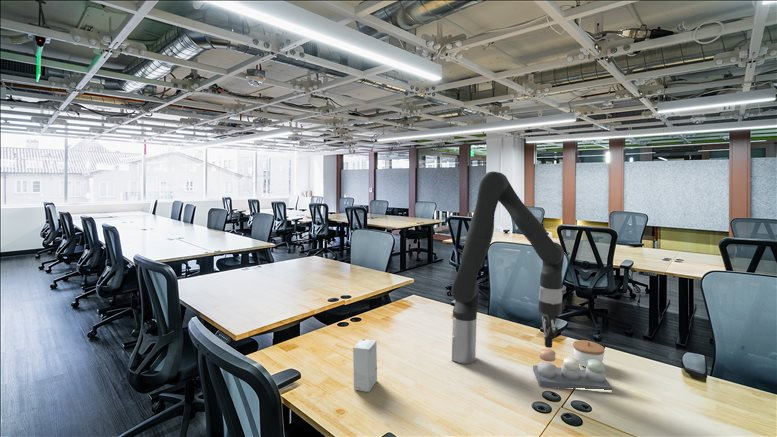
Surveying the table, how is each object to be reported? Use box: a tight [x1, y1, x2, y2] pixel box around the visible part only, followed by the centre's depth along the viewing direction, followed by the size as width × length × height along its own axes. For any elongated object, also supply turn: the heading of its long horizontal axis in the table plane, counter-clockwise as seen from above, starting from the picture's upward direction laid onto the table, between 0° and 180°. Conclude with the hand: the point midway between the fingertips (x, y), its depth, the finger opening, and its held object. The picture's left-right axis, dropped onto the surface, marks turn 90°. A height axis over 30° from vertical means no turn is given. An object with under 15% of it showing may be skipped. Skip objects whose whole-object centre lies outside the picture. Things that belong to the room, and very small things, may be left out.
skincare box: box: [352, 338, 378, 393], centre depth 126 cm, size 8×6×15 cm
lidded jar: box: [572, 339, 605, 368], centre depth 141 cm, size 11×11×9 cm
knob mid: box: [562, 356, 580, 371], centre depth 129 cm, size 5×5×2 cm
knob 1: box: [539, 348, 556, 363], centre depth 130 cm, size 5×5×2 cm
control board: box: [532, 361, 613, 391], centre depth 129 cm, size 23×11×5 cm, turn 80°
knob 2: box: [587, 359, 605, 373], centre depth 128 cm, size 5×5×2 cm
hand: (548, 346), depth 130 cm, fingers closed
